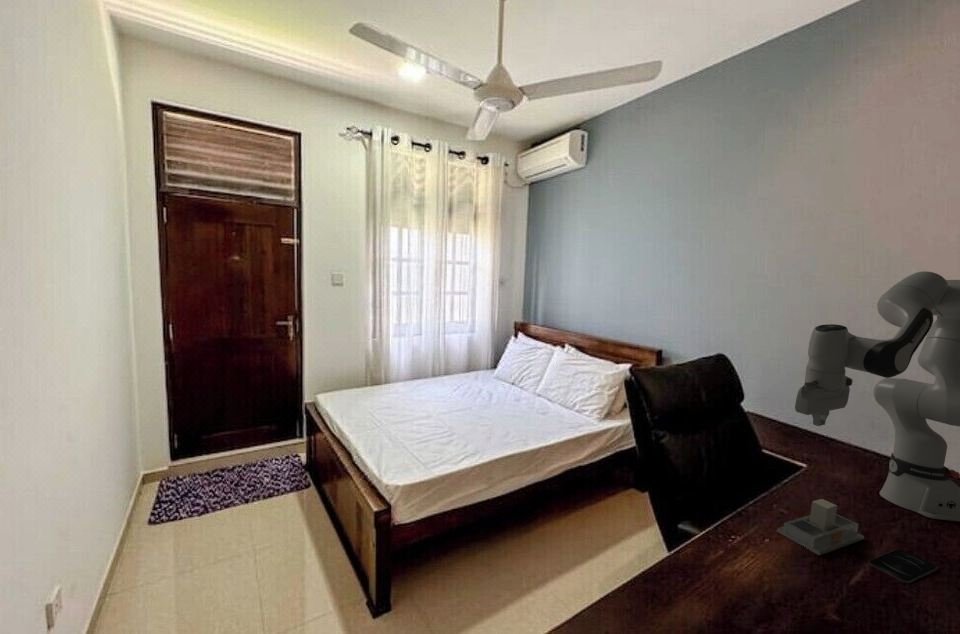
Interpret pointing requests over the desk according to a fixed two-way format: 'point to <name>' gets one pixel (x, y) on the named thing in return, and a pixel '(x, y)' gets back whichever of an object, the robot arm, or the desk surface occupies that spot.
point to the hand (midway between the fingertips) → (818, 424)
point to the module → (823, 514)
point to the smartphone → (903, 565)
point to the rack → (821, 534)
